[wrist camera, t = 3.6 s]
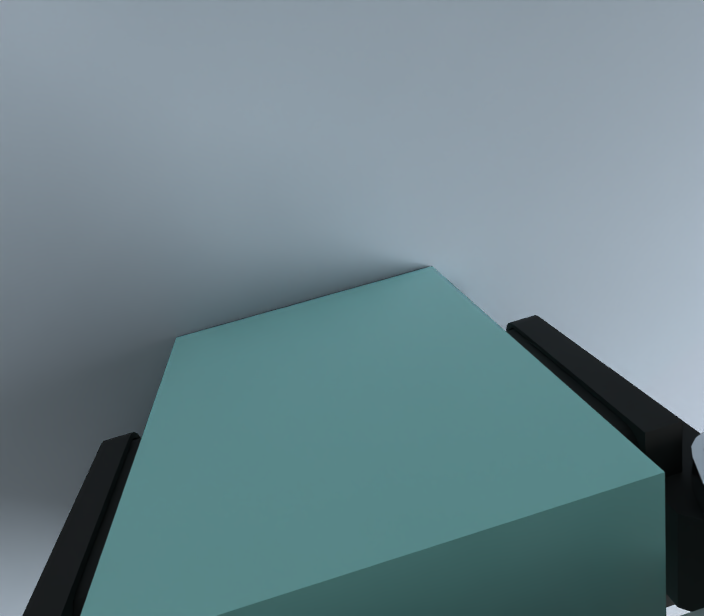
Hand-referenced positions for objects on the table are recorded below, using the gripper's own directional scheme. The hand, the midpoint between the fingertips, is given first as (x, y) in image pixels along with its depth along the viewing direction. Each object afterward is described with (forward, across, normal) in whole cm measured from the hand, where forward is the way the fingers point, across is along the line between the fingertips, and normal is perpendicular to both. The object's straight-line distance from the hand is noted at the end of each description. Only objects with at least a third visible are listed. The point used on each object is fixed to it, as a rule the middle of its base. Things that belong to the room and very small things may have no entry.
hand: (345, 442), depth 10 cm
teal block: (+1, 0, 0) cm, 1 cm away
